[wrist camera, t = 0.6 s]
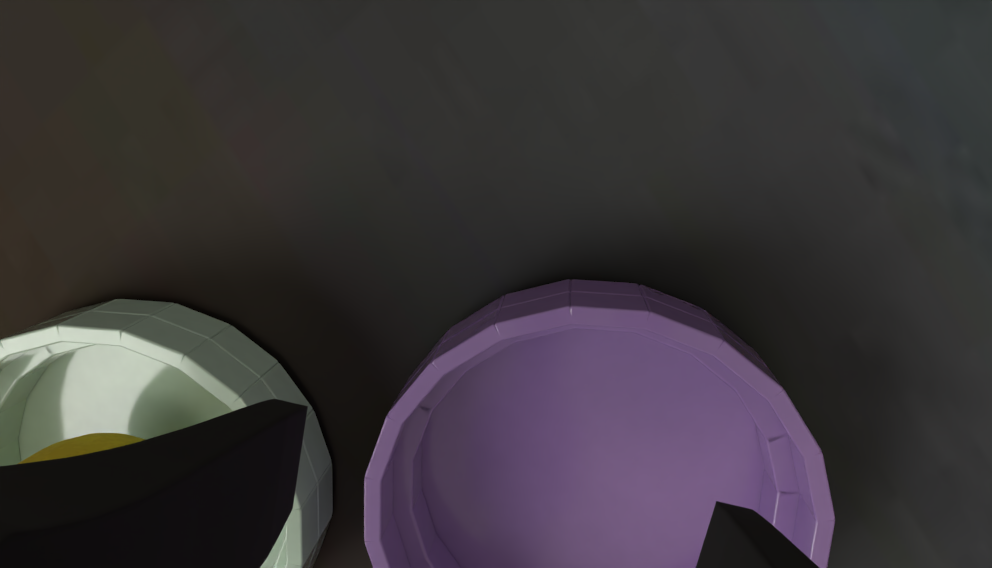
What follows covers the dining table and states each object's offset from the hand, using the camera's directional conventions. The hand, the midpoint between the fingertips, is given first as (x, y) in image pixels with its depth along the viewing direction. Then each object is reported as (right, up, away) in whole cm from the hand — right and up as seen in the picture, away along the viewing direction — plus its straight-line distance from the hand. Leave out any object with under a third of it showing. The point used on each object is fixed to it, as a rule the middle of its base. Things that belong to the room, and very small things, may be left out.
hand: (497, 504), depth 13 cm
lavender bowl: (+3, -2, +11) cm, 11 cm away
